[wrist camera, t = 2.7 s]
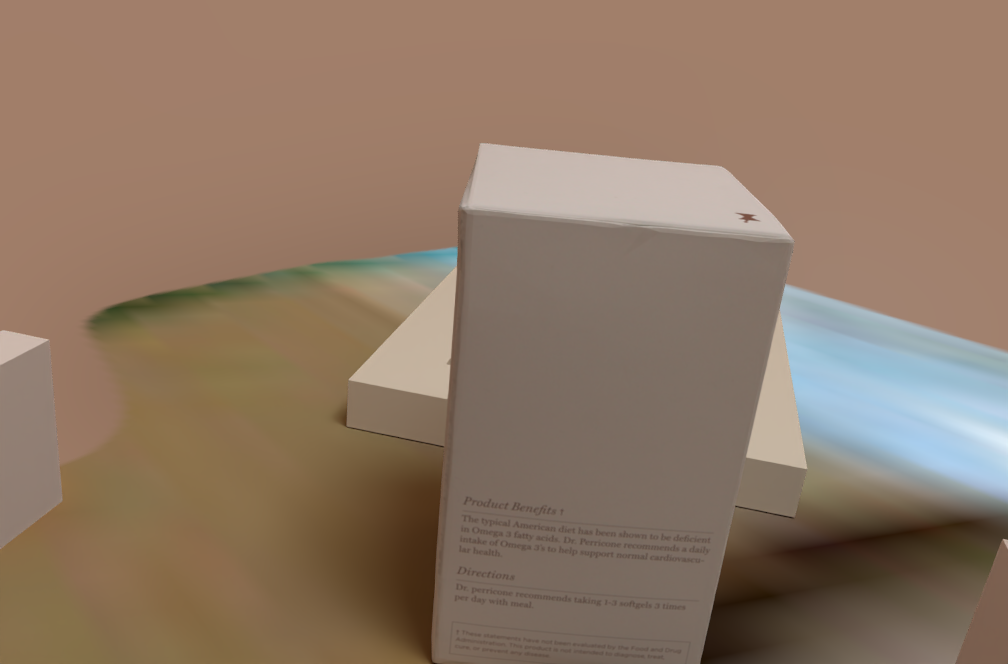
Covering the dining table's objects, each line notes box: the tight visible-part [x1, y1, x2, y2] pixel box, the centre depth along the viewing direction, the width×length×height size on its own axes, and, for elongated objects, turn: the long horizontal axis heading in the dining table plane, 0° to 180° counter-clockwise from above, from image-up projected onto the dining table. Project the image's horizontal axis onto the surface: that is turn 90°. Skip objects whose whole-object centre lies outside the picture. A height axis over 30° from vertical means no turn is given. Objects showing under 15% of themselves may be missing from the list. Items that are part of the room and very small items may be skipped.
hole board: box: [347, 266, 807, 518], centre depth 41 cm, size 17×17×2 cm
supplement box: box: [431, 143, 795, 664], centre depth 25 cm, size 7×7×13 cm
